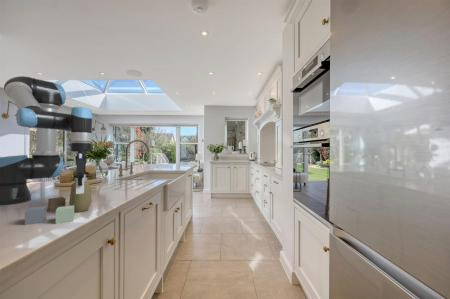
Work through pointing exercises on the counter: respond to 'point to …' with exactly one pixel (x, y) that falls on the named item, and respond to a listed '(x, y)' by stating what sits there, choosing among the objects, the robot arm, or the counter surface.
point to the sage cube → (64, 214)
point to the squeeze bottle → (80, 197)
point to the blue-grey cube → (35, 215)
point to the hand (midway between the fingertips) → (81, 191)
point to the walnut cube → (56, 203)
